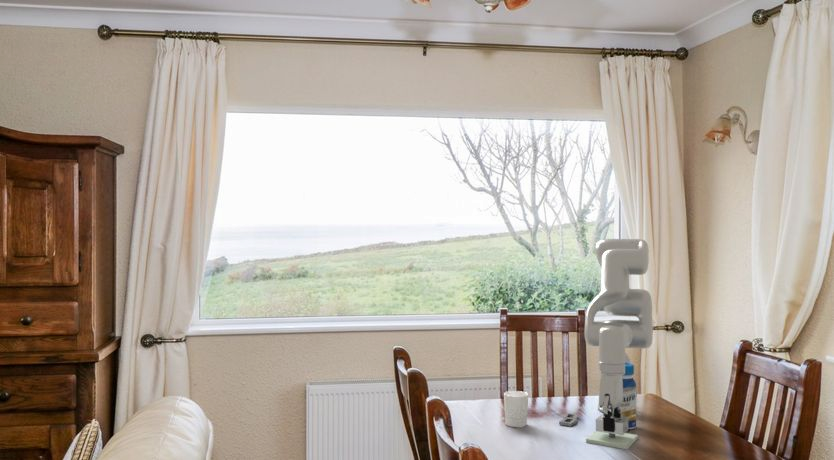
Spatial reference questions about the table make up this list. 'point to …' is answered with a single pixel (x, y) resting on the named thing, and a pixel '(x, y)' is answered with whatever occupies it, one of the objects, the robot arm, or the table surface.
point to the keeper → (612, 439)
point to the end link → (620, 425)
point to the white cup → (516, 408)
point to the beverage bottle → (629, 396)
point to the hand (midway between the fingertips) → (612, 427)
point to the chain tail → (568, 420)
